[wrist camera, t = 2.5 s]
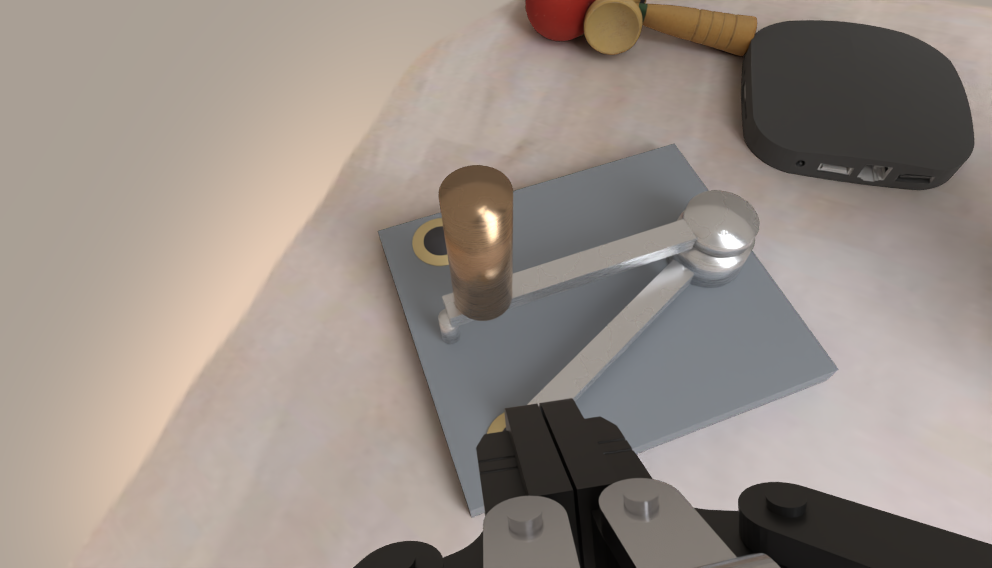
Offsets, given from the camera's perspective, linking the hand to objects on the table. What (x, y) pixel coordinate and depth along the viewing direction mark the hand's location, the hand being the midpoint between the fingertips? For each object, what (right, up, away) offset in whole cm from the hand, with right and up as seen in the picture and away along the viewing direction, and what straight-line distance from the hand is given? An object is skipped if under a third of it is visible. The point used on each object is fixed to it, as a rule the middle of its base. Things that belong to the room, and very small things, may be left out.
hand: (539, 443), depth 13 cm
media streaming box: (+25, +16, +33) cm, 44 cm away
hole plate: (+5, +2, +24) cm, 24 cm away
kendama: (+10, +24, +37) cm, 45 cm away
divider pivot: (+6, +1, +21) cm, 22 cm away
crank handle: (+5, +3, +22) cm, 23 cm away
